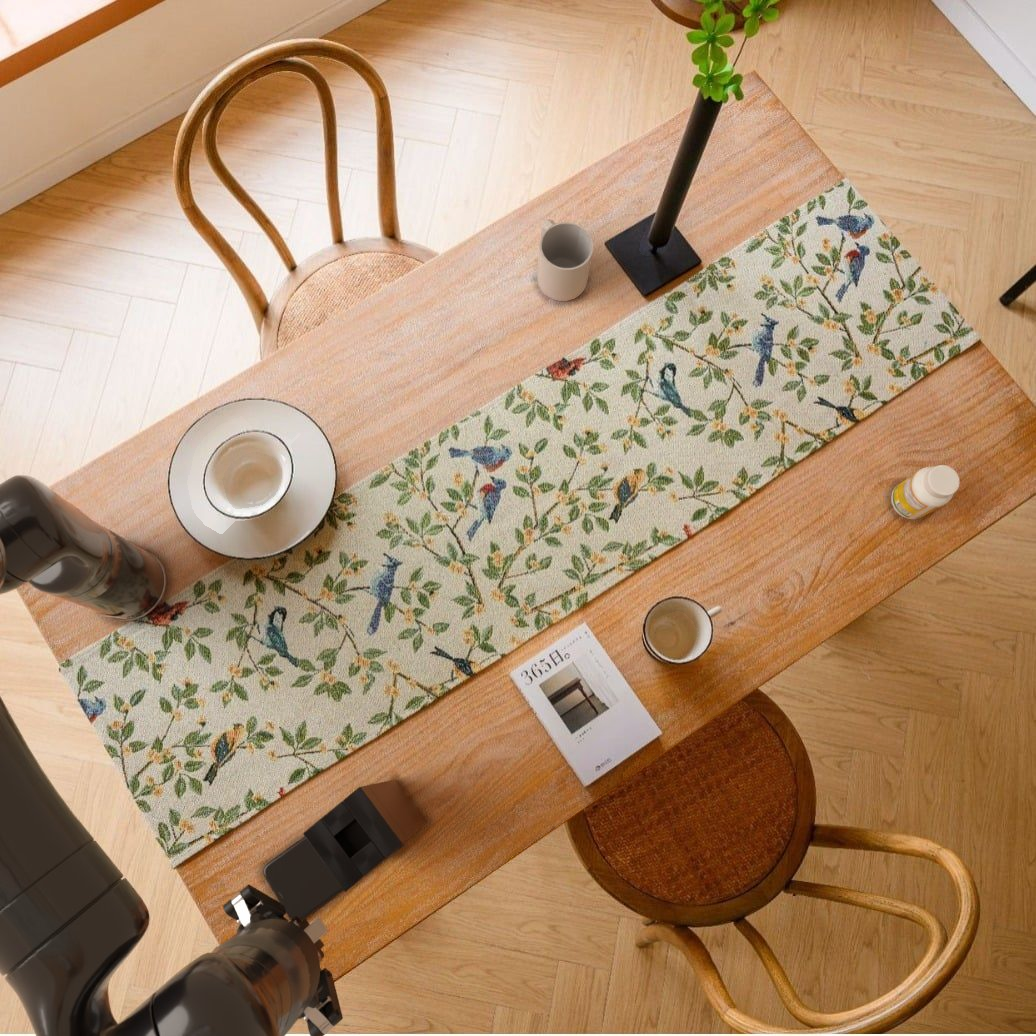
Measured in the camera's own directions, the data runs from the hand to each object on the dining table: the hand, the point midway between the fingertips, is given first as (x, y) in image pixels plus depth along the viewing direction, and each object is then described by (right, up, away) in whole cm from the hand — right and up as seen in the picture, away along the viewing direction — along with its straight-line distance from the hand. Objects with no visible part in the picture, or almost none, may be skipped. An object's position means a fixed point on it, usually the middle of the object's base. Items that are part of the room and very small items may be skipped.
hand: (305, 939), depth 81 cm
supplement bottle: (+72, +40, +42) cm, 92 cm away
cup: (+25, +73, +50) cm, 91 cm away
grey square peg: (0, -1, +5) cm, 5 cm away
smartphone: (-3, -3, +29) cm, 30 cm away
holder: (+3, +1, +30) cm, 30 cm away
